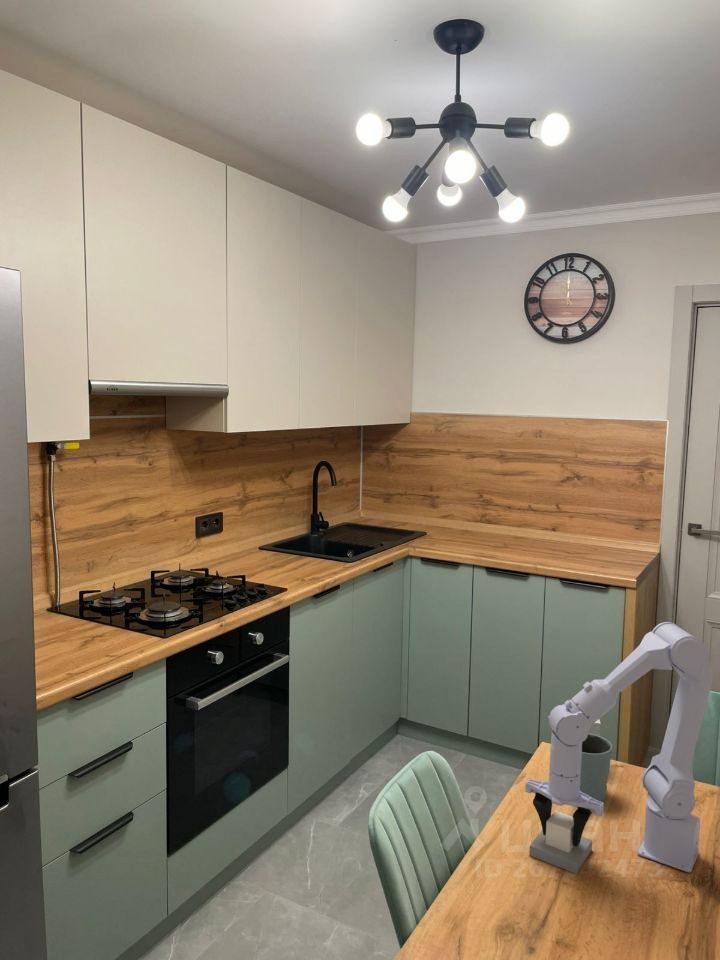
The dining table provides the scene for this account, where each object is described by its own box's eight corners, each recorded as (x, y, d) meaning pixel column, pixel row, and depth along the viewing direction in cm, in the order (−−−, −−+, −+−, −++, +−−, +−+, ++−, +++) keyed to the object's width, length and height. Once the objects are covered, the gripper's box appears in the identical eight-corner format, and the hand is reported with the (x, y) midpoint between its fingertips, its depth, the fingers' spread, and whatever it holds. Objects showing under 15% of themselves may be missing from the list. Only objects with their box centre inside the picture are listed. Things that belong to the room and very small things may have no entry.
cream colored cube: (577, 841, 139) (578, 818, 139) (569, 852, 135) (570, 829, 135) (554, 832, 142) (555, 810, 141) (545, 843, 138) (546, 821, 137)
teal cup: (607, 786, 164) (610, 735, 162) (612, 810, 154) (615, 756, 153) (560, 780, 166) (563, 729, 165) (562, 803, 156) (565, 750, 155)
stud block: (591, 849, 140) (592, 830, 139) (576, 873, 132) (577, 853, 132) (546, 833, 145) (547, 814, 144) (529, 855, 137) (530, 835, 137)
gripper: (520, 767, 138) (517, 834, 139) (597, 791, 130) (593, 863, 131) (534, 753, 144) (531, 818, 145) (608, 775, 135) (604, 844, 137)
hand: (561, 838), depth 138 cm, fingers open, 5 cm apart
